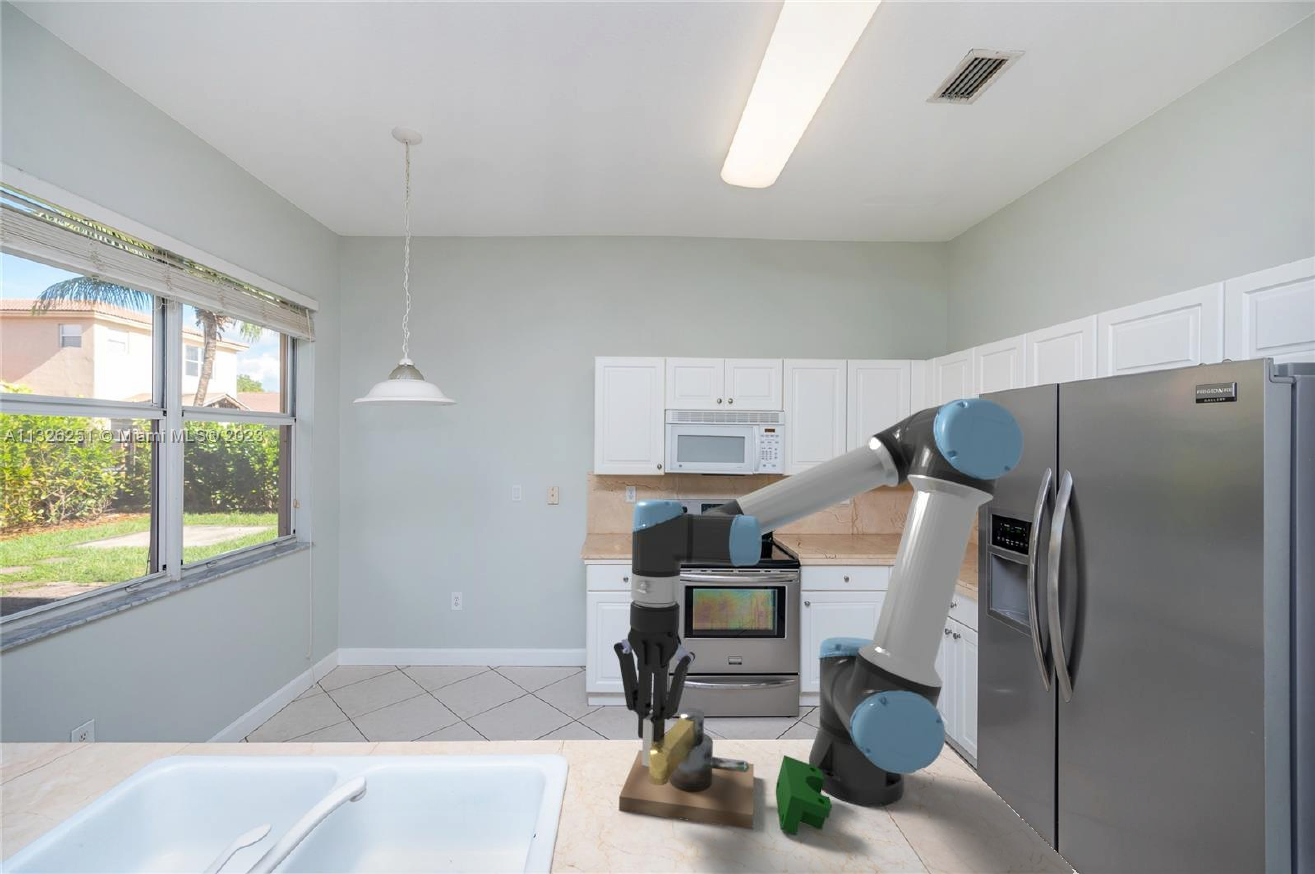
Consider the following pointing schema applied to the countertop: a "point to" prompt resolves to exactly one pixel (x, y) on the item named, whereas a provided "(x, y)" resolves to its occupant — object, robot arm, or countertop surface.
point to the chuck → (702, 767)
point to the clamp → (800, 796)
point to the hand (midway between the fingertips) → (650, 761)
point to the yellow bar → (675, 745)
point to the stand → (692, 797)
